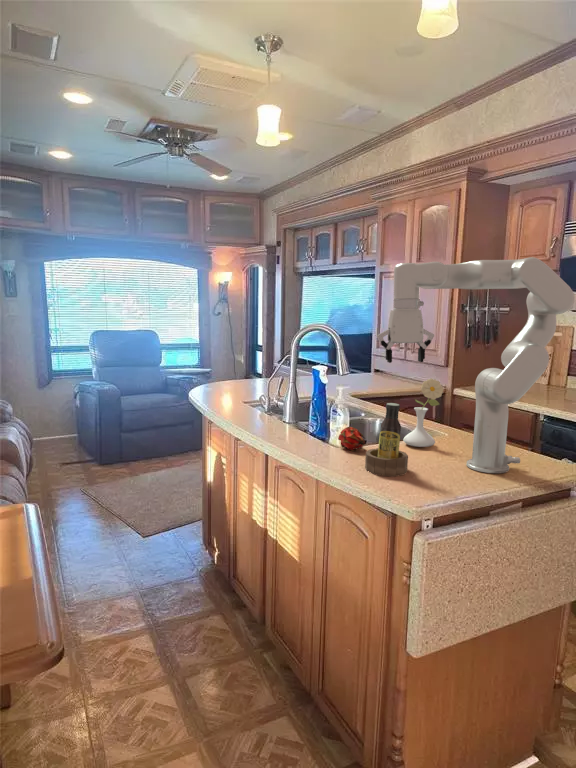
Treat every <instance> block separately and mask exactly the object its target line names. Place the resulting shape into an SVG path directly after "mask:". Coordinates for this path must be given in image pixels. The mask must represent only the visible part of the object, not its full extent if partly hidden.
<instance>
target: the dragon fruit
mask: <svg viewBox="0 0 576 768" xmlns="http://www.w3.org/2000/svg"><path fill="white" fill-rule="evenodd" d="M337 439H338V441H340V446H341V448H345V447H346V449H347V450H349V451H350V452H357V451H356V448H357V449H362V448H363V447H364V445H366V444H367V440H365V439H366V437H365V436H364V434H363V433H362V432H361V431H359V429H357V428H356V427H353V426H347V427H345V428H343V429H342V430H341V431H340V434H339V435H338V437H337Z"/></svg>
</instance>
